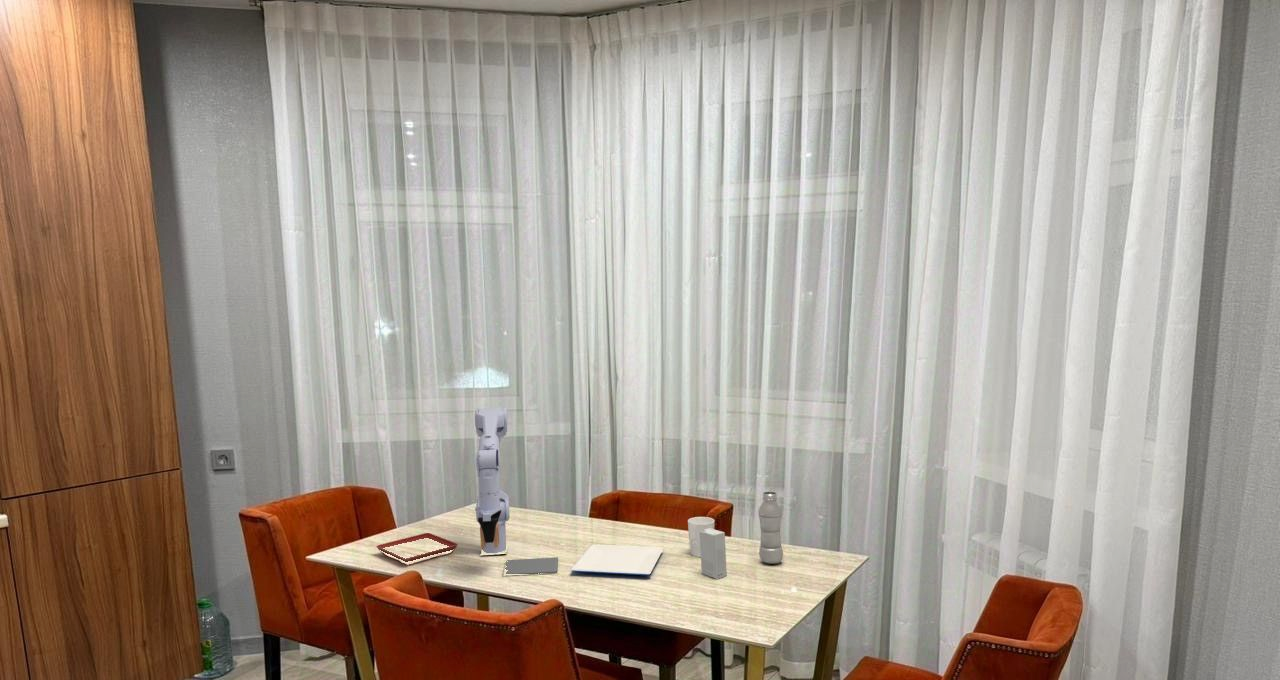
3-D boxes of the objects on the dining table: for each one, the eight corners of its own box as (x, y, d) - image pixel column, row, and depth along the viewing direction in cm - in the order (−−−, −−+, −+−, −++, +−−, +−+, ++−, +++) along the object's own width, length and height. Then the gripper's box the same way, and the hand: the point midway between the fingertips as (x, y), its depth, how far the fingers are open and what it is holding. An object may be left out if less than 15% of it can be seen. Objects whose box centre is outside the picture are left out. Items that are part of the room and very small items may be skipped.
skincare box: (727, 576, 203) (726, 531, 203) (715, 580, 201) (714, 535, 200) (711, 570, 208) (710, 527, 208) (699, 574, 205) (698, 530, 205)
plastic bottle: (783, 567, 209) (781, 496, 208) (758, 566, 211) (757, 495, 210) (783, 559, 216) (782, 490, 215) (759, 558, 217) (758, 490, 216)
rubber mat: (506, 562, 219) (506, 560, 219) (558, 559, 220) (558, 557, 220) (502, 576, 207) (502, 574, 207) (557, 573, 208) (557, 571, 208)
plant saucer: (459, 554, 229) (459, 543, 228) (405, 569, 216) (404, 558, 215) (428, 542, 241) (428, 532, 241) (375, 556, 228) (375, 545, 228)
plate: (649, 580, 202) (649, 573, 202) (570, 576, 206) (570, 569, 206) (664, 553, 224) (663, 546, 224) (591, 550, 228) (591, 543, 228)
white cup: (693, 559, 217) (693, 525, 217) (685, 551, 225) (684, 518, 225) (719, 556, 220) (718, 522, 219) (709, 548, 227) (708, 515, 227)
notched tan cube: (483, 543, 214) (481, 523, 214) (499, 542, 214) (498, 521, 214) (481, 548, 209) (479, 527, 209) (497, 547, 210) (496, 526, 209)
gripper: (478, 486, 218) (479, 532, 219) (470, 499, 204) (472, 548, 204) (502, 485, 219) (504, 531, 219) (497, 497, 204) (498, 547, 205)
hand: (490, 539), depth 212 cm, fingers closed on notched tan cube, 5 cm apart
